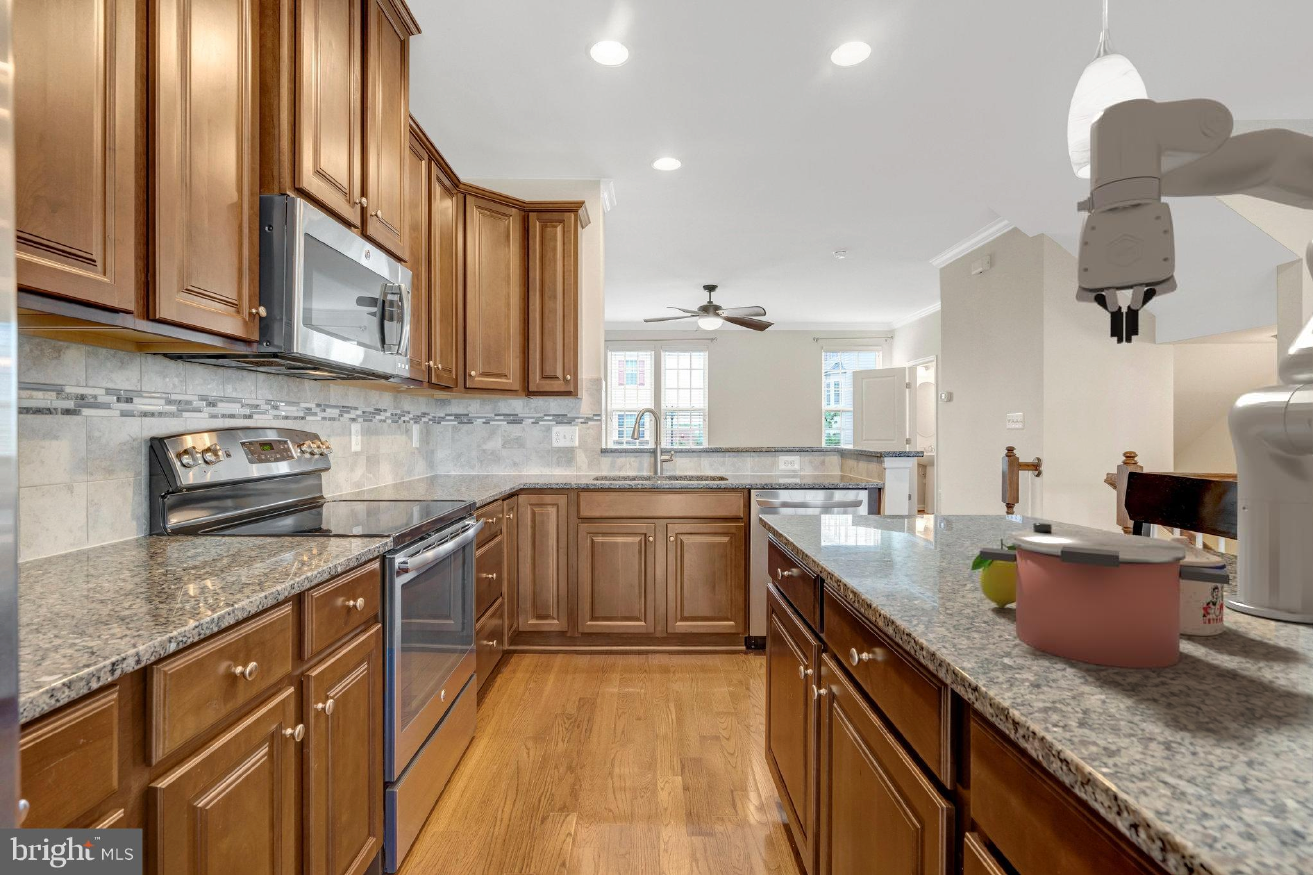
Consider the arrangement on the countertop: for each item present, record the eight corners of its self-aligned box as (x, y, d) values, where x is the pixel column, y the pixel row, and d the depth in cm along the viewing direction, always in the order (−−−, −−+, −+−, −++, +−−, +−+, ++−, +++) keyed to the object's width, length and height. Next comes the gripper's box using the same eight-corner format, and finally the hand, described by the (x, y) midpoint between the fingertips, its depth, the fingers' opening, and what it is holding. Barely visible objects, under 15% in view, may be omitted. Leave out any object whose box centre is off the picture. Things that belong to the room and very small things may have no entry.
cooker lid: (1020, 534, 88) (1020, 518, 88) (1179, 547, 78) (1179, 529, 78) (997, 555, 71) (997, 535, 71) (1196, 575, 61) (1196, 552, 61)
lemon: (1036, 609, 91) (1036, 539, 91) (1020, 616, 87) (1020, 544, 87) (987, 599, 96) (987, 533, 96) (969, 606, 92) (970, 537, 92)
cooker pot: (992, 609, 90) (992, 532, 90) (1217, 642, 76) (1217, 550, 76) (970, 641, 77) (970, 550, 76) (1238, 688, 62) (1238, 576, 62)
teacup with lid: (1224, 642, 76) (1224, 545, 76) (1130, 626, 82) (1130, 537, 82) (1228, 620, 85) (1228, 533, 85) (1143, 607, 91) (1143, 526, 91)
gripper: (1055, 206, 85) (1055, 344, 85) (1202, 180, 76) (1201, 333, 76) (1059, 221, 91) (1059, 349, 91) (1196, 198, 82) (1195, 340, 82)
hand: (1124, 342), depth 84 cm, fingers closed
